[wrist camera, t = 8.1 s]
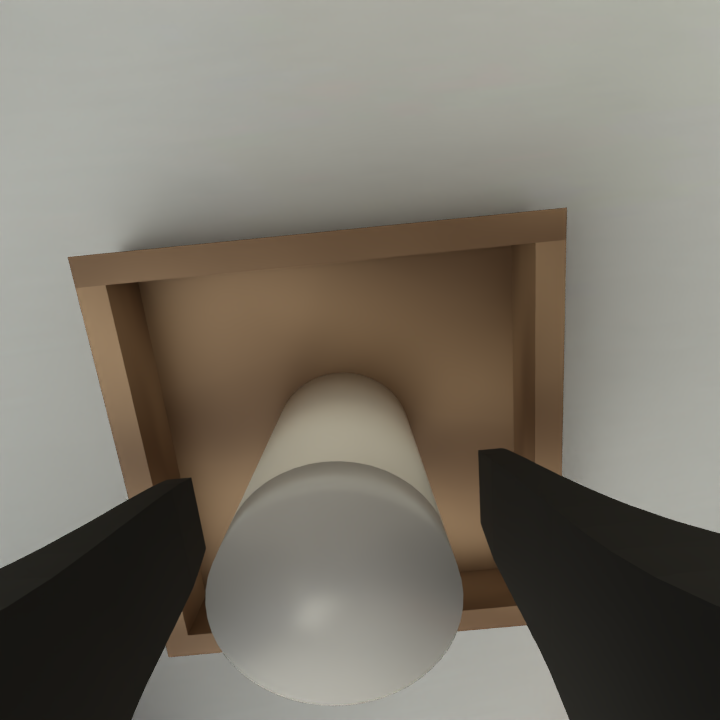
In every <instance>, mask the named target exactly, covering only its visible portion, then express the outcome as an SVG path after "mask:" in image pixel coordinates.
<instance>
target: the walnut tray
mask: <svg viewBox="0 0 720 720" xmlns="http://www.w3.org/2000/svg"><path fill="white" fill-rule="evenodd" d="M566 226H567V208H558V209H548V210H538V211H528V212H518V213H508V214H498V215H488V216H478V217H468V218H457V219H447V220H437V221H427V222H417V223H407V224H397V225H387V226H377V227H367V228H357V229H347V230H336V231H326V232H316V233H306V234H296V235H286V236H276V237H266V238H256V239H246V240H236V241H226V242H215V243H205V244H195V245H185V246H175V247H165V248H155V249H145V250H135V251H125V252H115V253H105V254H94V255H84V256H74V257H68V260H69V264H70V268H71V272H72V276H73V280H74V284H75V288H76V292H77V296H78V300H79V304H80V308H81V311H82V315H83V319H84V323H85V327H86V331H87V335H88V339H89V343H90V347H91V351H92V355H93V359H94V363H95V367H96V371H97V375H98V379H99V383H100V387H101V391H102V395H103V399H104V403H105V407H106V411H107V415H108V418H109V422H110V426H111V430H112V434H113V438H114V442H115V446H116V450H117V454H118V458H119V462H120V466H121V470H122V474H123V478H124V482H125V486H126V490H127V494H128V498H129V499H130V498H132V497H134V496H136V495H137V494H139V493H141V492H143V491H145V490H146V489H148V488H150V487H152V486H154V485H156V484H158V483H160V482H163V481H165V480H169V479H180V478H190V477H191V478H192V483H193V488H194V493H195V497H196V502H197V507H198V512H199V517H200V521H201V526H202V531H203V536H204V540H205V545H206V551H205V554H204V557H203V560H202V563H201V567H200V570H199V573H198V576H197V578H196V581H195V584H194V587H193V589H192V591H191V594H190V596H189V598H188V600H187V602H186V604H185V606H184V608H183V611H182V613H181V615H180V617H179V619H178V621H177V623H176V625H175V627H174V629H173V631H172V633H171V635H170V637H169V639H168V641H167V643H166V648H167V652H168V656H169V657H176V656H187V655H198V654H209V653H221V652H222V650H221V649H220V647H219V646H218V644H217V642H216V640H215V638H214V636H213V634H212V632H211V628H210V625H209V622H208V619H207V612H206V605H205V598H206V585H207V579H208V575H209V572H210V569H211V566H212V563H213V561H214V559H215V557H216V554H217V552H218V550H219V548H220V546H221V543H222V541H223V539H224V537H225V535H226V533H227V530H228V528H229V526H230V524H231V522H232V519H233V517H234V515H235V513H236V511H237V509H238V506H239V504H240V502H241V500H242V498H243V496H244V493H245V491H246V489H247V487H248V485H249V482H250V480H251V478H252V476H253V474H254V472H255V469H256V467H257V465H258V463H259V461H260V459H261V456H262V454H263V452H264V450H265V448H266V445H267V443H268V441H269V439H270V437H271V435H272V432H273V430H274V428H275V426H276V424H277V422H278V419H279V417H280V415H281V413H282V411H283V409H284V407H285V405H286V403H287V402H288V400H289V399H290V397H291V396H292V395H293V394H294V393H295V392H296V391H297V390H298V389H299V388H301V387H302V386H303V385H305V384H306V383H308V382H309V381H311V380H313V379H316V378H318V377H321V376H324V375H327V374H333V373H354V374H359V375H363V376H366V377H369V378H371V379H373V380H375V381H377V382H379V383H381V384H382V385H384V386H385V387H386V388H387V389H389V390H390V391H391V392H392V393H393V394H394V395H395V397H396V398H397V399H398V400H399V402H400V404H401V405H402V407H403V409H404V411H405V413H406V416H407V419H408V422H409V425H410V428H411V431H412V434H413V437H414V440H415V443H416V446H417V448H418V451H419V454H420V457H421V460H422V463H423V466H424V469H425V472H426V475H427V478H428V481H429V484H430V487H431V490H432V493H433V495H434V498H435V501H436V504H437V507H438V510H439V513H440V516H441V519H442V522H443V525H444V528H445V531H446V534H447V537H448V539H449V542H450V545H451V548H452V551H453V554H454V557H455V560H456V563H457V566H458V569H459V573H460V576H461V580H462V587H463V610H462V616H461V621H460V624H459V627H458V630H457V631H467V630H478V629H489V628H500V627H511V626H523V625H527V624H526V622H525V620H524V618H523V616H522V614H521V612H520V610H519V608H518V607H517V605H516V603H515V601H514V599H513V597H512V595H511V593H510V591H509V589H508V587H507V585H506V583H505V581H504V579H503V577H502V575H501V573H500V571H499V569H498V567H497V565H496V563H495V561H494V559H493V556H492V554H491V551H490V548H489V546H488V543H487V540H486V537H485V534H484V532H483V529H482V526H481V523H480V493H479V462H478V450H486V449H497V448H504V449H507V450H510V451H512V452H514V453H516V454H518V455H520V456H522V457H525V458H527V459H529V460H531V461H533V462H535V463H536V464H538V465H540V466H542V467H544V468H546V469H548V470H550V471H552V472H555V473H557V474H559V475H561V476H562V432H563V380H564V329H565V277H566Z"/></svg>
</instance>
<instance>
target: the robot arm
mask: <svg viewBox="0 0 720 720" xmlns="http://www.w3.org/2000/svg"><path fill="white" fill-rule="evenodd" d="M478 462H479V493H480V523H481V526H482V529H483V532H484V534H485V537H486V540H487V543H488V546H489V548H490V551H491V554H492V556H493V559H494V561H495V563H496V565H497V567H498V569H499V571H500V573H501V575H502V577H503V579H504V581H505V583H506V585H507V587H508V589H509V591H510V593H511V595H512V597H513V599H514V601H515V603H516V605H517V607H518V608H519V610H520V612H521V614H522V616H523V618H524V620H525V622H526V624H527V626H528V628H529V630H530V632H531V634H532V636H533V638H534V640H535V641H536V643H537V645H538V647H539V649H540V651H541V653H542V656H543V658H544V660H545V662H546V664H547V666H548V668H549V671H550V673H551V675H552V678H553V680H554V683H555V685H556V688H557V690H558V692H559V695H560V697H561V700H562V702H563V705H564V707H565V710H566V712H567V715H568V717H569V720H720V533H716V532H712V531H709V530H705V529H701V528H698V527H694V526H691V525H687V524H684V523H681V522H677V521H674V520H671V519H668V518H665V517H662V516H659V515H656V514H653V513H650V512H647V511H645V510H642V509H639V508H636V507H633V506H630V505H628V504H625V503H622V502H620V501H617V500H615V499H612V498H610V497H608V496H605V495H603V494H600V493H598V492H596V491H593V490H591V489H589V488H586V487H584V486H582V485H580V484H578V483H575V482H573V481H571V480H569V479H567V478H565V477H563V476H561V475H559V474H557V473H555V472H552V471H550V470H548V469H546V468H544V467H542V466H540V465H538V464H536V463H535V462H533V461H531V460H529V459H527V458H525V457H522V456H520V455H518V454H516V453H514V452H512V451H510V450H507V449H504V448H497V449H486V450H478ZM205 551H206V545H205V540H204V536H203V531H202V526H201V521H200V517H199V512H198V507H197V502H196V497H195V493H194V488H193V483H192V478H191V477H190V478H180V479H169V480H165V481H163V482H160V483H158V484H156V485H154V486H152V487H150V488H148V489H146V490H145V491H143V492H141V493H139V494H137V495H136V496H134V497H132V498H130V499H129V500H127V501H125V502H123V503H122V504H120V505H118V506H116V507H115V508H113V509H111V510H109V511H108V512H106V513H104V514H103V515H101V516H99V517H97V518H96V519H94V520H92V521H90V522H89V523H87V524H85V525H83V526H81V527H80V528H78V529H76V530H74V531H72V532H70V533H68V534H67V535H65V536H63V537H61V538H59V539H57V540H56V541H54V542H52V543H50V544H48V545H46V546H45V547H43V548H41V549H39V550H37V551H35V552H33V553H31V554H29V555H27V556H25V557H23V558H21V559H19V560H17V561H15V562H13V563H11V564H9V565H7V566H5V567H2V568H0V720H131V719H132V717H133V714H134V712H135V709H136V707H137V705H138V702H139V700H140V698H141V696H142V693H143V691H144V689H145V687H146V684H147V682H148V680H149V678H150V676H151V674H152V672H153V670H154V668H155V666H156V664H157V662H158V660H159V658H160V656H161V654H162V652H163V650H164V648H165V646H166V643H167V641H168V639H169V637H170V635H171V633H172V631H173V629H174V627H175V625H176V623H177V621H178V619H179V617H180V615H181V613H182V611H183V608H184V606H185V604H186V602H187V600H188V598H189V596H190V594H191V591H192V589H193V587H194V584H195V581H196V578H197V576H198V573H199V570H200V567H201V563H202V560H203V557H204V554H205Z"/></svg>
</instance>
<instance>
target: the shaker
mask: <svg viewBox="0 0 720 720" xmlns="http://www.w3.org/2000/svg"><path fill="white" fill-rule="evenodd" d="M205 605H206V612H207V619H208V622H209V625H210V628H211V632H212V634H213V636H214V638H215V640H216V642H217V644H218V646H219V647H220V649H221V650H222V652H223V653H224V655H225V656H226V658H227V659H228V660H229V661H230V662H231V663H232V664H233V665H234V667H235V668H236V669H238V670H239V671H240V672H241V673H242V674H243V675H244V676H246V677H247V678H248V679H250V680H251V681H253V682H254V683H256V684H257V685H259V686H260V687H262V688H264V689H266V690H268V691H270V692H272V693H274V694H277V695H279V696H282V697H285V698H287V699H291V700H295V701H298V702H302V703H309V704H315V705H328V706H340V705H353V704H360V703H365V702H369V701H373V700H377V699H381V698H383V697H386V696H389V695H391V694H394V693H396V692H398V691H400V690H402V689H404V688H406V687H408V686H409V685H411V684H412V683H414V682H416V681H417V680H419V679H420V678H421V677H423V676H424V675H425V674H426V673H427V672H429V671H430V670H431V669H432V668H433V667H434V666H435V665H436V664H437V663H438V661H439V660H440V659H441V658H442V657H443V655H444V654H445V652H446V651H447V650H448V648H449V647H450V645H451V643H452V641H453V639H454V637H455V635H456V633H457V630H458V627H459V624H460V621H461V616H462V610H463V587H462V580H461V576H460V573H459V569H458V566H457V563H456V560H455V557H454V554H453V551H452V548H451V545H450V542H449V539H448V537H447V534H446V531H445V528H444V525H443V522H442V519H441V516H440V513H439V510H438V507H437V504H436V501H435V498H434V495H433V493H432V490H431V487H430V484H429V481H428V478H427V475H426V472H425V469H424V466H423V463H422V460H421V457H420V454H419V451H418V448H417V446H416V443H415V440H414V437H413V434H412V431H411V428H410V425H409V422H408V419H407V416H406V413H405V411H404V409H403V407H402V405H401V404H400V402H399V400H398V399H397V398H396V397H395V395H394V394H393V393H392V392H391V391H390V390H389V389H387V388H386V387H385V386H384V385H382V384H381V383H379V382H377V381H375V380H373V379H371V378H369V377H366V376H363V375H359V374H354V373H333V374H327V375H324V376H321V377H318V378H316V379H313V380H311V381H309V382H308V383H306V384H305V385H303V386H302V387H301V388H299V389H298V390H297V391H296V392H295V393H294V394H293V395H292V396H291V397H290V399H289V400H288V402H287V403H286V405H285V407H284V409H283V411H282V413H281V415H280V417H279V419H278V422H277V424H276V426H275V428H274V430H273V432H272V435H271V437H270V439H269V441H268V443H267V445H266V448H265V450H264V452H263V454H262V456H261V459H260V461H259V463H258V465H257V467H256V469H255V472H254V474H253V476H252V478H251V480H250V482H249V485H248V487H247V489H246V491H245V493H244V496H243V498H242V500H241V502H240V504H239V506H238V509H237V511H236V513H235V515H234V517H233V519H232V522H231V524H230V526H229V528H228V530H227V533H226V535H225V537H224V539H223V541H222V543H221V546H220V548H219V550H218V552H217V554H216V557H215V559H214V561H213V563H212V566H211V569H210V572H209V575H208V579H207V585H206V598H205Z"/></svg>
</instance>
